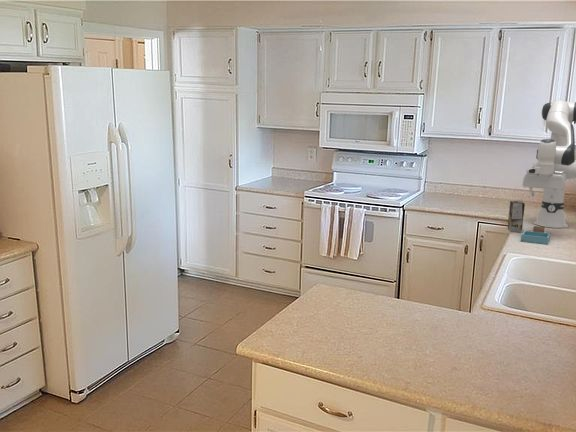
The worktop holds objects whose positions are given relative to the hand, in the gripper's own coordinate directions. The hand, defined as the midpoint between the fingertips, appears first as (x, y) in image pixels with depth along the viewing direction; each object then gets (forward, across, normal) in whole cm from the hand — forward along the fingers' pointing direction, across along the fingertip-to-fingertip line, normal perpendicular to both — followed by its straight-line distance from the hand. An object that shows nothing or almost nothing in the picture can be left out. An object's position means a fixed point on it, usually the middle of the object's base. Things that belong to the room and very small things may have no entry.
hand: (542, 196), depth 299 cm
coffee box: (+21, +13, -10) cm, 27 cm away
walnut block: (+21, 0, 0) cm, 21 cm away
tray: (+21, 0, +12) cm, 25 cm away
